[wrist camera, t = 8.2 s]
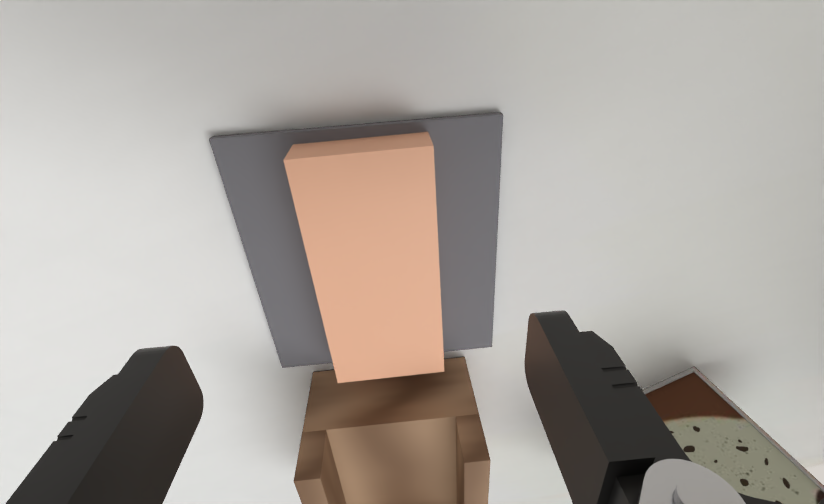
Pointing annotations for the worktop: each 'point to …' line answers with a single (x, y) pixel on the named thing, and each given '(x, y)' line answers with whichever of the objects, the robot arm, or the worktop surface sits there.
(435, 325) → the cover plate
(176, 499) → the worktop surface
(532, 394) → the robot arm
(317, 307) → the charcoal mat
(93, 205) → the worktop surface
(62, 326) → the worktop surface
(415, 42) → the worktop surface
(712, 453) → the food container
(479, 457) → the walnut box
